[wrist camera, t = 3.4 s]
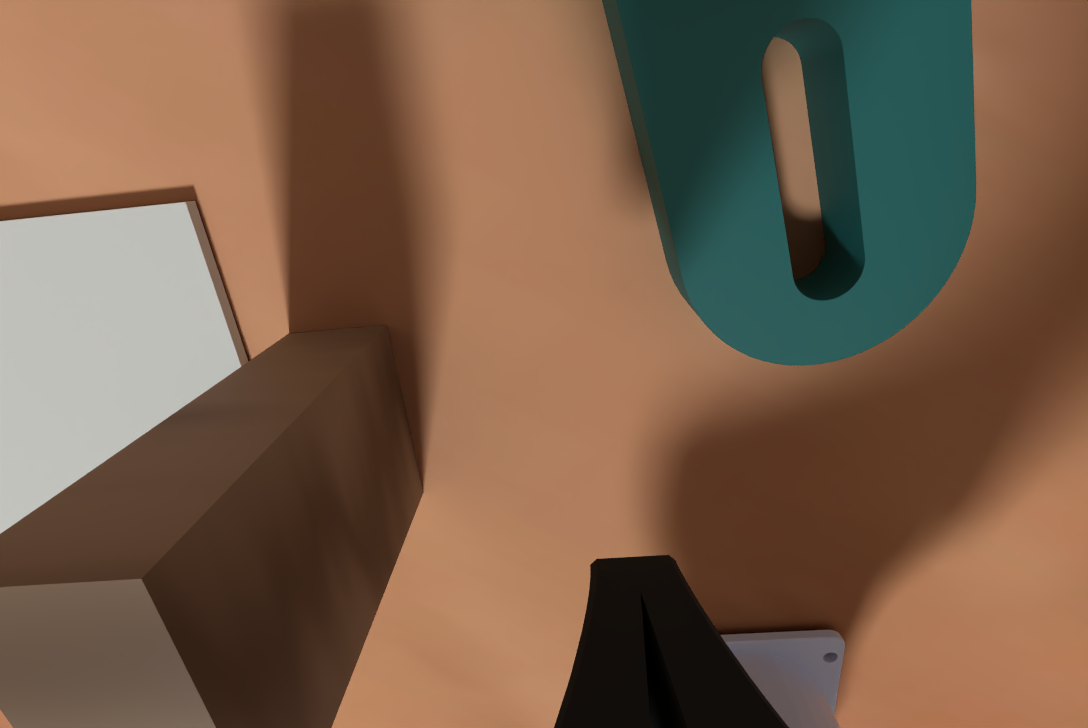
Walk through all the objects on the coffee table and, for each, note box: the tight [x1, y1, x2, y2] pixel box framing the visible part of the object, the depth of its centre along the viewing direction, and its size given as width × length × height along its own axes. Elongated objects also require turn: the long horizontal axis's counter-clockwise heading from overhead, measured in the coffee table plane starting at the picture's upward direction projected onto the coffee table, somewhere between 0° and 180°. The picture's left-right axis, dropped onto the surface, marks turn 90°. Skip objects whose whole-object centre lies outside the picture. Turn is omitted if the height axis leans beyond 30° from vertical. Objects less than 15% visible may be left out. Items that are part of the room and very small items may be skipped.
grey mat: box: [0, 201, 248, 534], centre depth 17 cm, size 14×12×1 cm
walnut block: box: [0, 325, 423, 728], centre depth 12 cm, size 6×3×10 cm, turn 6°
